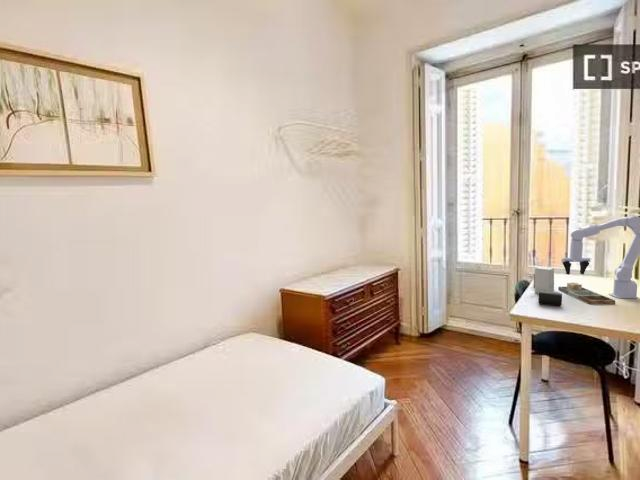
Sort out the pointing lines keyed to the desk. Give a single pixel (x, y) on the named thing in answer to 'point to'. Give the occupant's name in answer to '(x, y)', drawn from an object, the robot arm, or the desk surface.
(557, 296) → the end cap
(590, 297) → the walnut tray
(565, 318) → the desk surface
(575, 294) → the sage tray
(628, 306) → the desk surface
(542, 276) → the skincare box
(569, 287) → the maple letter cube
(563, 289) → the charcoal tray
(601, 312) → the desk surface
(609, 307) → the desk surface
